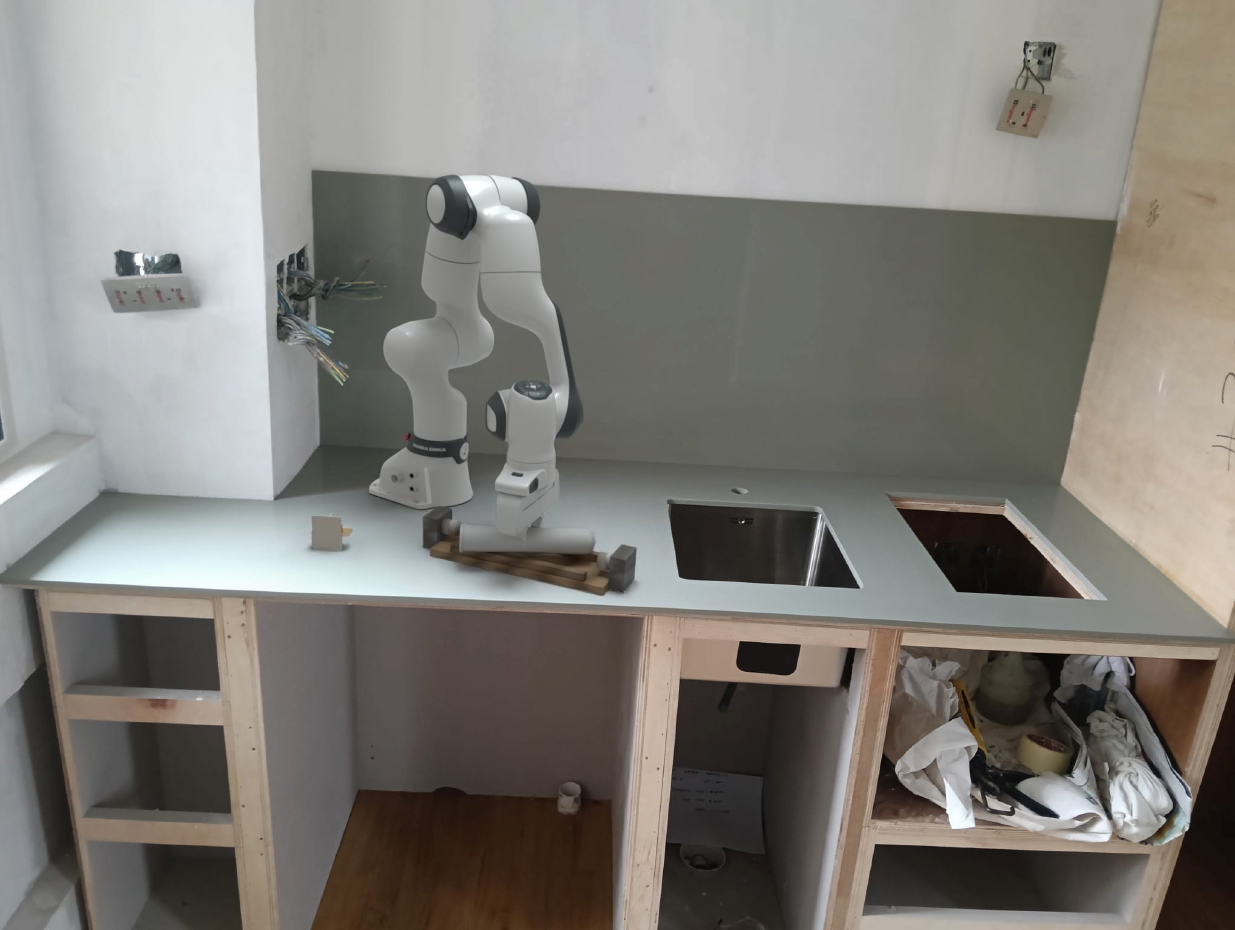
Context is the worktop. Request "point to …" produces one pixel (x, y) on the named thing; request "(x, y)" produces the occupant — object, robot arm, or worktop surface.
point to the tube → (537, 540)
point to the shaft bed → (534, 559)
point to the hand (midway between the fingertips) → (528, 540)
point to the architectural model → (328, 533)
